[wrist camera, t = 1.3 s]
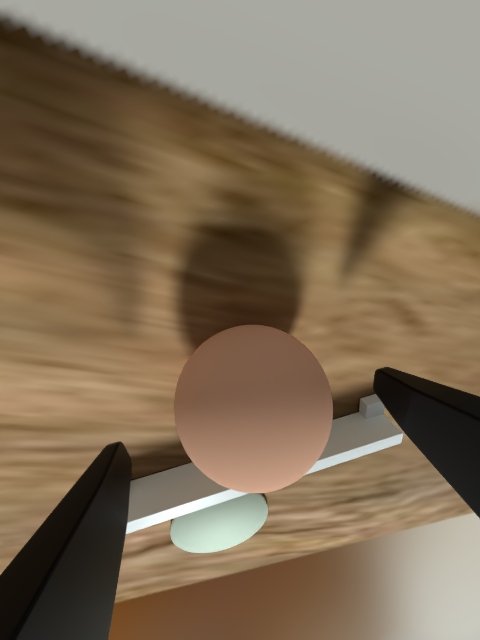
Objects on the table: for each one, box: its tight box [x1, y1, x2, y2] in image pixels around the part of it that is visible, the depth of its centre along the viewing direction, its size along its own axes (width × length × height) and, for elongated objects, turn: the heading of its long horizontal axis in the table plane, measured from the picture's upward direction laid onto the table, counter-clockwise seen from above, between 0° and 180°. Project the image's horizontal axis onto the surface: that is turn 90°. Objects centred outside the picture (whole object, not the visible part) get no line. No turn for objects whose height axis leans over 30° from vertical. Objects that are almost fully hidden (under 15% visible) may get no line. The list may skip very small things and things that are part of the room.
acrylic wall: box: [126, 394, 403, 534], centre depth 13 cm, size 16×3×2 cm, turn 98°
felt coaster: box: [170, 493, 268, 553], centre depth 16 cm, size 6×6×1 cm
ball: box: [174, 325, 333, 493], centre depth 9 cm, size 6×6×6 cm
